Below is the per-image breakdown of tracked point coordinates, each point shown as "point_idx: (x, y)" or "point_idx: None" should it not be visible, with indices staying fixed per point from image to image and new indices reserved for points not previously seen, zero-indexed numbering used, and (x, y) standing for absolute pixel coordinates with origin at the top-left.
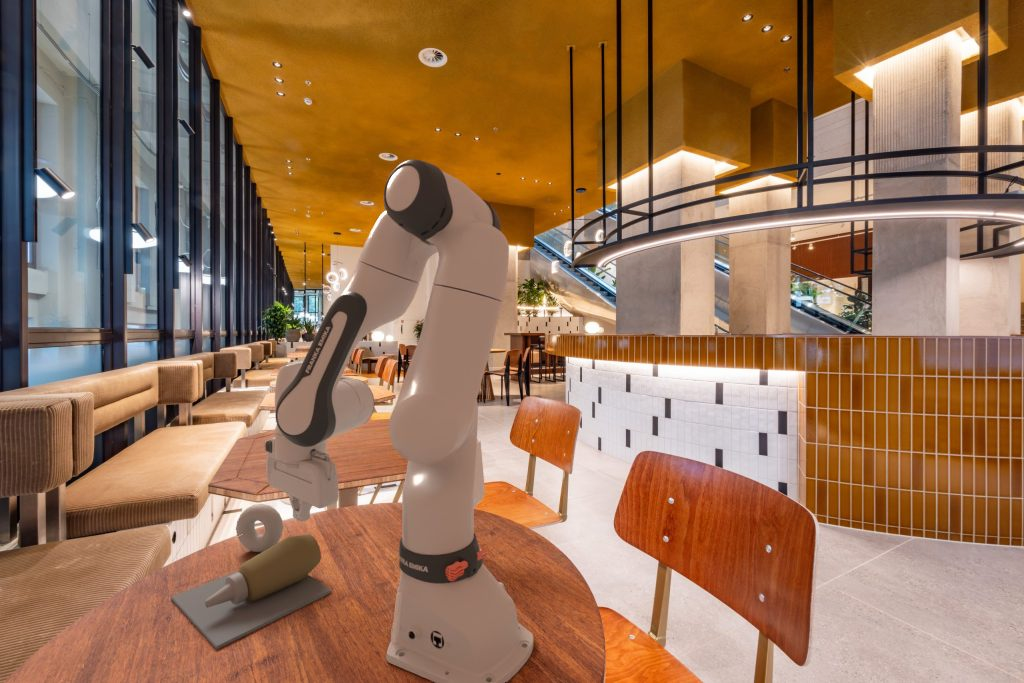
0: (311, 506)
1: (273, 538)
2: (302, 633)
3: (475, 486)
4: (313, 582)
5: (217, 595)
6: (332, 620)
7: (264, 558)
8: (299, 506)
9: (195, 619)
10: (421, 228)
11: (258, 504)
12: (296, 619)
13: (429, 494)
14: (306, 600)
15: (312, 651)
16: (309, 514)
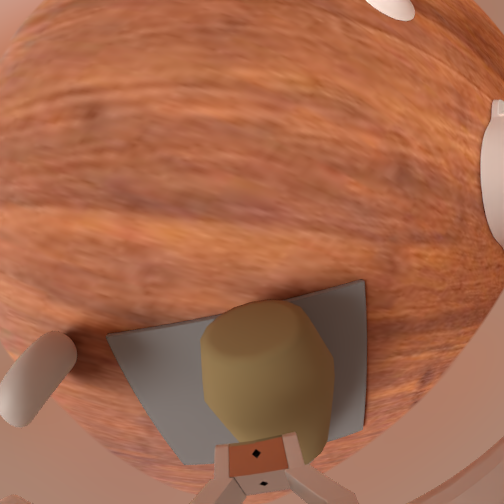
0: (327, 477)
1: (73, 360)
2: (420, 342)
3: None
4: (304, 307)
5: None
6: (430, 299)
7: (307, 453)
8: (233, 492)
9: None
10: None
11: (5, 417)
12: (387, 348)
13: None
14: (362, 332)
15: (453, 334)
16: (298, 446)
